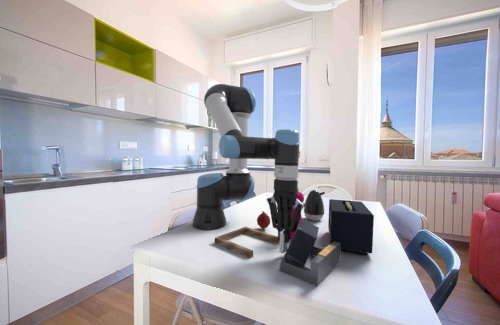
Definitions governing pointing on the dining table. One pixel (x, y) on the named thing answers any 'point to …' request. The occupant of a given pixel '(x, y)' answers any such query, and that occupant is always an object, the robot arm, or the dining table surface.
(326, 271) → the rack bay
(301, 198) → the pepper mill
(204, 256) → the dining table surface
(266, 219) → the onion
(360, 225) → the black toaster
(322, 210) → the pump dispenser
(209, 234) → the dining table surface
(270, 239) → the holder
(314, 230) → the small box
